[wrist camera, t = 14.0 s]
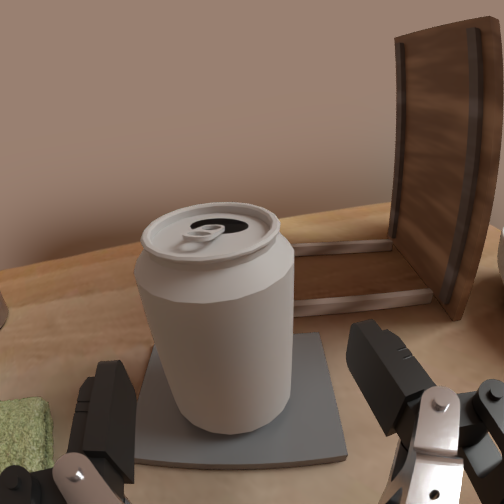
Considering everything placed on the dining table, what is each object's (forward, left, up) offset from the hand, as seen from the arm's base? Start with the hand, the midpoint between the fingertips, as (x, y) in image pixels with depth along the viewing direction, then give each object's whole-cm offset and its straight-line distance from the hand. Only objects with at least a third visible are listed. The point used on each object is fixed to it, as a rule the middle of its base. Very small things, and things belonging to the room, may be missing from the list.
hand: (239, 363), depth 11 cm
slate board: (-1, +6, -10) cm, 12 cm away
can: (-1, +6, -9) cm, 11 cm away
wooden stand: (+9, +20, -10) cm, 24 cm away
